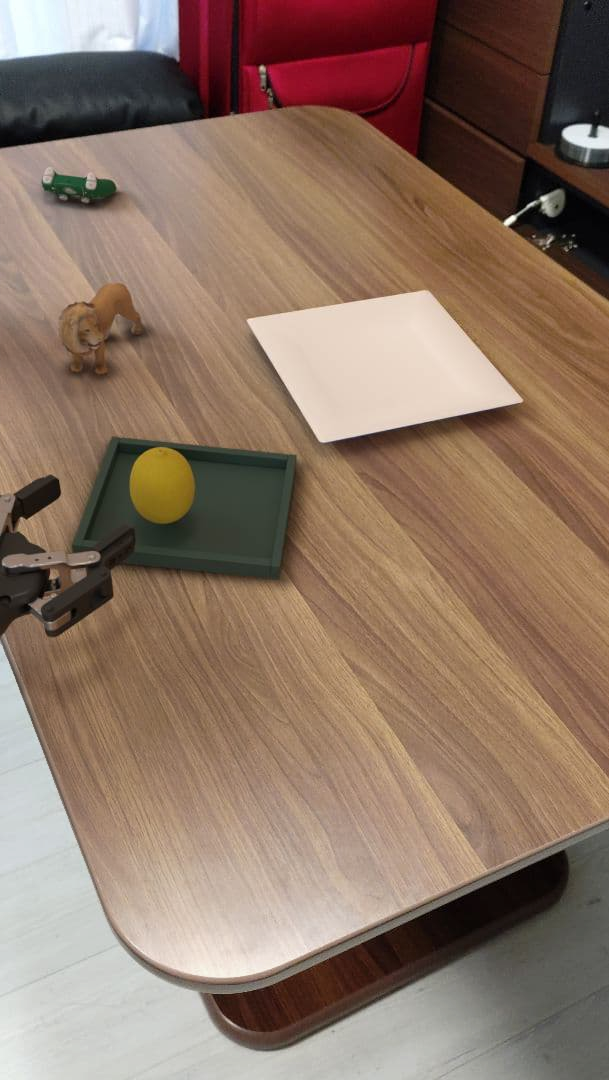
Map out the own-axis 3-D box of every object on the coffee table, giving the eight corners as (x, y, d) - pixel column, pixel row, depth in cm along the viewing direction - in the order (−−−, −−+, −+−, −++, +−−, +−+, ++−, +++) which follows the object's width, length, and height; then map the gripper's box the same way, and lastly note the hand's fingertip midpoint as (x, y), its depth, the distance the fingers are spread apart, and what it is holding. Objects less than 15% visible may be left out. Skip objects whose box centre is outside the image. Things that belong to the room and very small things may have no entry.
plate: (245, 333, 108) (245, 317, 107) (425, 303, 115) (428, 287, 113) (319, 458, 94) (320, 441, 92) (520, 415, 100) (525, 399, 99)
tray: (73, 558, 83) (71, 545, 82) (113, 449, 93) (111, 436, 92) (279, 579, 82) (280, 566, 81) (296, 467, 93) (296, 454, 92)
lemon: (153, 551, 83) (147, 481, 78) (121, 513, 86) (113, 444, 81) (208, 526, 86) (206, 457, 80) (175, 491, 89) (171, 421, 83)
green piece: (47, 203, 131) (32, 187, 125) (51, 175, 131) (36, 158, 125) (114, 212, 130) (101, 196, 124) (118, 184, 130) (106, 167, 124)
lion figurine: (104, 398, 99) (96, 321, 92) (54, 390, 99) (42, 313, 93) (149, 321, 109) (144, 248, 102) (104, 314, 109) (96, 240, 103)
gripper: (-24, 647, 62) (156, 515, 71) (-156, 542, 68) (26, 432, 77) (-4, 715, 67) (161, 584, 77) (-128, 612, 73) (39, 502, 83)
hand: (93, 508), depth 77 cm, fingers open, 8 cm apart
